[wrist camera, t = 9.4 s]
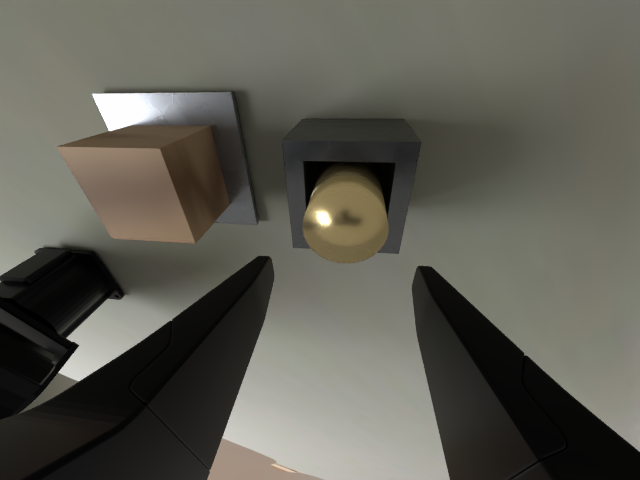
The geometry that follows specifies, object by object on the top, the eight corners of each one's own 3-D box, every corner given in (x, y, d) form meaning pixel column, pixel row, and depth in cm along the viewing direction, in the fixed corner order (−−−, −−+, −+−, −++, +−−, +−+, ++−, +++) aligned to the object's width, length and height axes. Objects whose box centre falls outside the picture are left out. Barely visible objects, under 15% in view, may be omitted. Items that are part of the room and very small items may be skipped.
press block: (389, 210, 18) (398, 253, 14) (307, 207, 19) (293, 247, 15) (404, 119, 15) (421, 141, 11) (302, 119, 15) (281, 140, 11)
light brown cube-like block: (230, 204, 19) (195, 243, 15) (162, 201, 20) (111, 238, 16) (210, 125, 16) (159, 148, 12) (130, 125, 16) (56, 146, 12)
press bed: (258, 222, 20) (256, 224, 20) (154, 217, 21) (151, 219, 21) (233, 91, 15) (230, 92, 15) (97, 93, 16) (91, 94, 16)
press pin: (376, 212, 16) (382, 265, 11) (318, 209, 16) (304, 260, 12) (383, 152, 13) (394, 192, 9) (316, 151, 14) (299, 189, 10)
